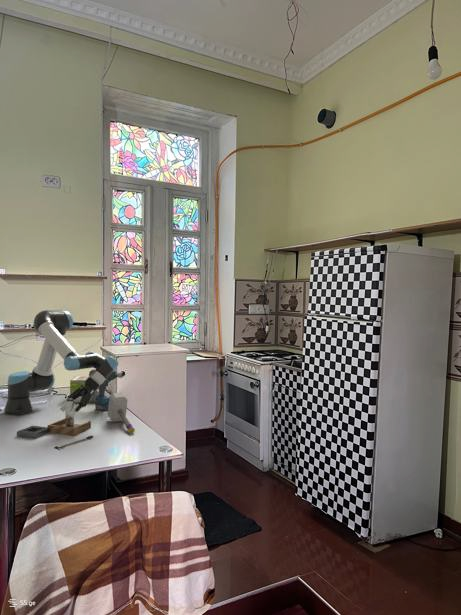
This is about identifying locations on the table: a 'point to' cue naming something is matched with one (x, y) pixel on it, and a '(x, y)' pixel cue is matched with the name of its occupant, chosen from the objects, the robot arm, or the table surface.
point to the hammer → (119, 410)
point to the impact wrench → (101, 398)
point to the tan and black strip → (73, 443)
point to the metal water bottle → (68, 408)
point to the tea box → (77, 384)
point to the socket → (33, 432)
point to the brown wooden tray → (68, 428)
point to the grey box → (94, 395)
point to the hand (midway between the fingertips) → (65, 413)
